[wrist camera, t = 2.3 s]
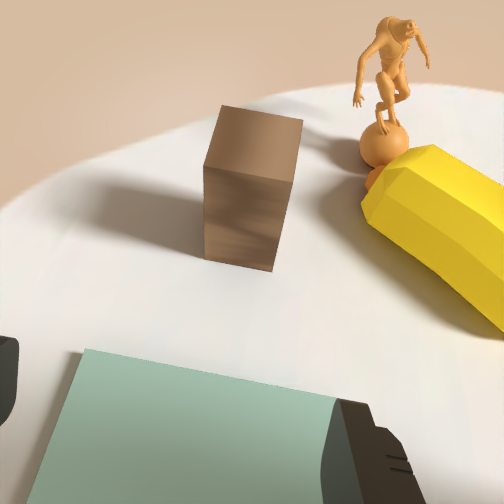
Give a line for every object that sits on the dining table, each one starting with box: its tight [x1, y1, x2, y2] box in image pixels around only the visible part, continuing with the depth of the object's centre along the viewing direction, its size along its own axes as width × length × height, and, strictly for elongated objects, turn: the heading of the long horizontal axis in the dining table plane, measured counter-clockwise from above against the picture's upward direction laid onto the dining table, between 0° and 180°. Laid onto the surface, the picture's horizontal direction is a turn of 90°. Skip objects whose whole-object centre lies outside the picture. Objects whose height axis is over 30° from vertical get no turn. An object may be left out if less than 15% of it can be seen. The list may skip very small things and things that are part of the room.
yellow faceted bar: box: [361, 144, 504, 333], centre depth 34 cm, size 18×7×8 cm
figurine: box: [353, 17, 430, 168], centre depth 36 cm, size 8×6×12 cm
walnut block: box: [203, 105, 303, 272], centre depth 31 cm, size 5×5×10 cm
